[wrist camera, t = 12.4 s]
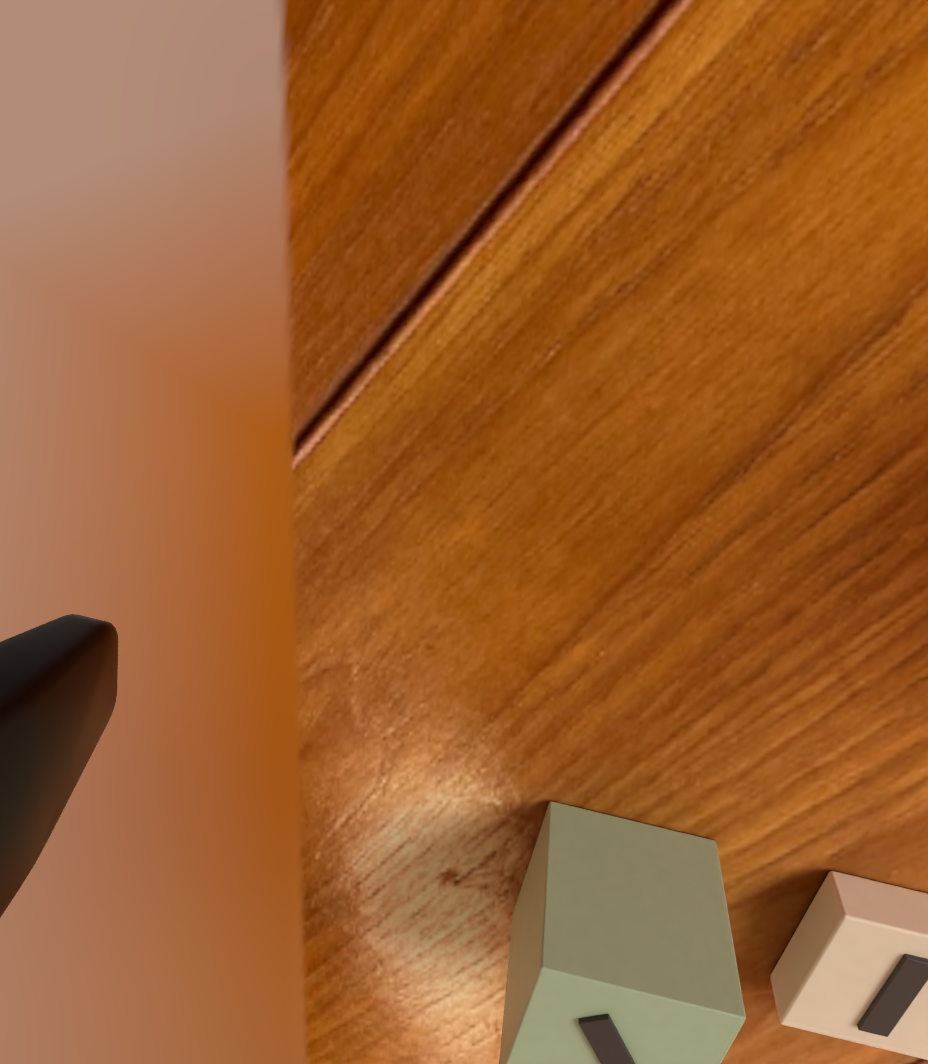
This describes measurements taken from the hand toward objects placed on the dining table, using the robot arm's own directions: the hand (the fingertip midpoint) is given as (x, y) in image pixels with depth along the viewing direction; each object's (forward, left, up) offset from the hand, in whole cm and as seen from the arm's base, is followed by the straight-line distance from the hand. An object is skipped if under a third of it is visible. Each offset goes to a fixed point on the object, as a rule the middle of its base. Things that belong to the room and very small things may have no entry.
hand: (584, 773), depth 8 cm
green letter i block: (+4, -13, -11) cm, 18 cm away
